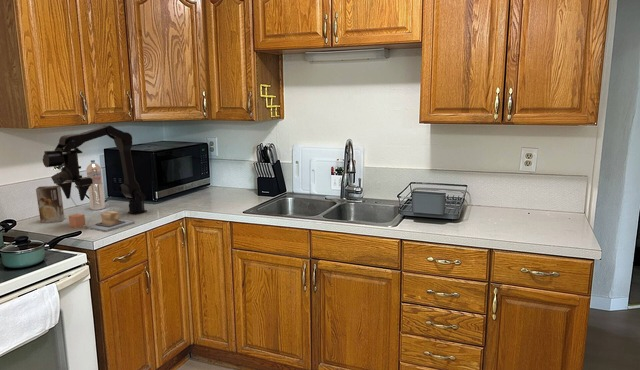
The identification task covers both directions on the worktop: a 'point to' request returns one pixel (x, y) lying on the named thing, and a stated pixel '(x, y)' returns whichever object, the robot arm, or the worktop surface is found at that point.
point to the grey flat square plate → (107, 228)
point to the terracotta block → (77, 220)
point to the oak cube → (110, 218)
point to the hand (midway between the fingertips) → (75, 199)
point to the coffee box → (50, 204)
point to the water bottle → (95, 186)
